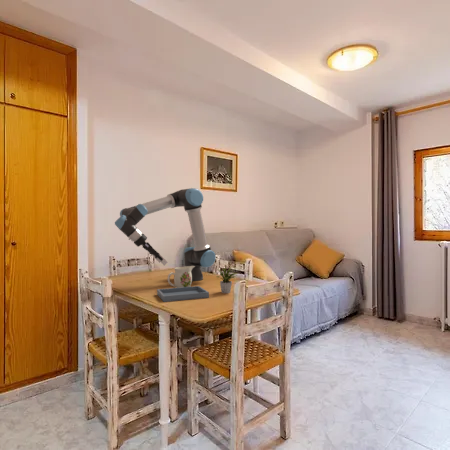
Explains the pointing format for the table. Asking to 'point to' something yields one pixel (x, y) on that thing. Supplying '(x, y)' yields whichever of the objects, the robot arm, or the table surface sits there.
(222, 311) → the table surface
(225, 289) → the house plant
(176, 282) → the pitcher
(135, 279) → the table surface
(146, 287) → the table surface
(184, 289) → the tray
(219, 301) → the table surface
